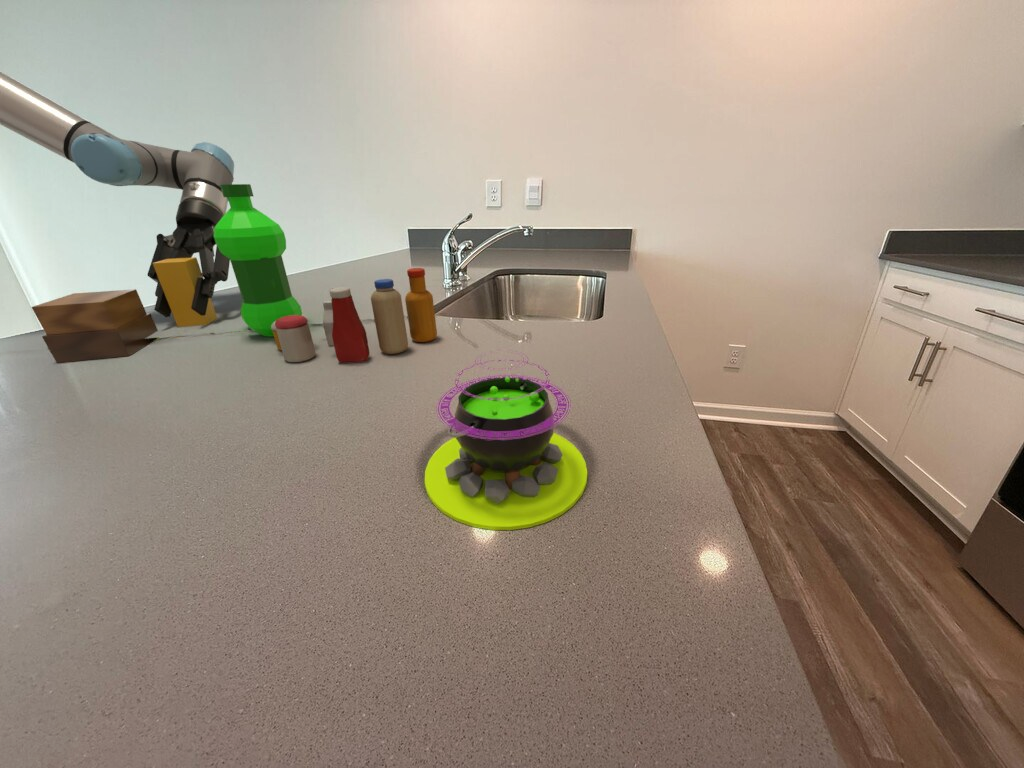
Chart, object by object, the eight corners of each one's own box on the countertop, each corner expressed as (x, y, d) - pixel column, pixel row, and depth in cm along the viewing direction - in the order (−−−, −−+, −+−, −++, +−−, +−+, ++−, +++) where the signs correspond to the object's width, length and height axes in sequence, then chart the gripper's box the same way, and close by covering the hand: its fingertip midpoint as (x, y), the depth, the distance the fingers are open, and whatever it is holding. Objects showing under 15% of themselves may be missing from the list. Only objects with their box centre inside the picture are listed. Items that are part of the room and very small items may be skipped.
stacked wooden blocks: (56, 363, 65) (25, 307, 61) (97, 342, 74) (72, 293, 70) (129, 356, 67) (104, 302, 63) (160, 336, 76) (140, 288, 72)
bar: (179, 333, 78) (152, 263, 72) (191, 325, 82) (166, 258, 76) (209, 330, 79) (184, 261, 73) (219, 323, 83) (196, 257, 77)
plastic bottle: (252, 345, 70) (200, 184, 59) (242, 331, 78) (195, 185, 67) (313, 332, 76) (276, 183, 65) (298, 320, 83) (263, 184, 72)
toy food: (439, 333, 73) (432, 265, 68) (428, 361, 62) (418, 281, 57) (290, 338, 73) (271, 270, 68) (252, 366, 62) (225, 287, 56)
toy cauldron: (484, 414, 47) (478, 322, 42) (609, 449, 40) (620, 345, 35) (388, 490, 36) (365, 376, 31) (542, 559, 29) (543, 426, 24)
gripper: (139, 199, 79) (108, 304, 71) (239, 196, 80) (219, 299, 72) (168, 226, 86) (143, 324, 78) (260, 223, 87) (244, 319, 79)
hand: (180, 312), depth 75 cm, fingers closed on bar, 6 cm apart
